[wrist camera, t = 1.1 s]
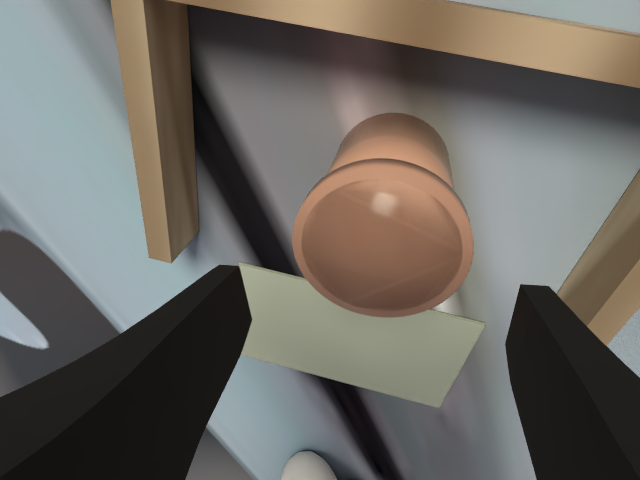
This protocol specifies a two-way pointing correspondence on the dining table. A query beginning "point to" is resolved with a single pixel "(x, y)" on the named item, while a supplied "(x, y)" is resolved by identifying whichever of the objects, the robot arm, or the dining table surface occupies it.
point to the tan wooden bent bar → (388, 25)
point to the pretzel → (307, 468)
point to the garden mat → (354, 339)
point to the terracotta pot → (385, 222)
